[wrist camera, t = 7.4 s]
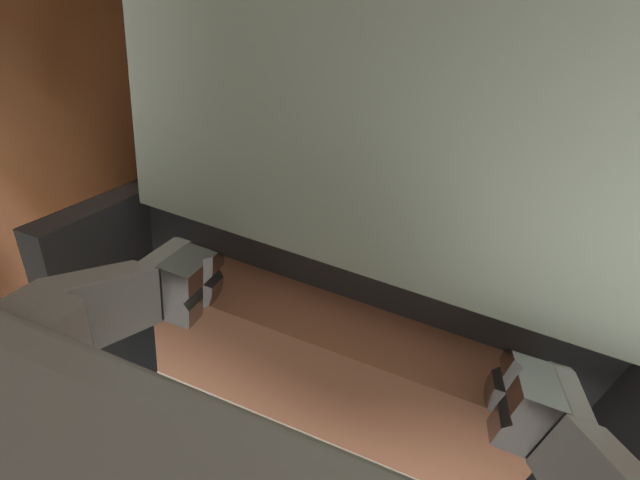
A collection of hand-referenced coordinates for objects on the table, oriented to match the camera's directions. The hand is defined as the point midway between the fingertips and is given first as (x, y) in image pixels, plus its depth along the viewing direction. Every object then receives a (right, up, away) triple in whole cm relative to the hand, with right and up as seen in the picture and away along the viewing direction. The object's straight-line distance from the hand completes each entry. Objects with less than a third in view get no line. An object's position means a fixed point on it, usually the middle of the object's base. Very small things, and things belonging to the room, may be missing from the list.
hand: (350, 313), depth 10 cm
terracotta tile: (0, -2, +3) cm, 3 cm away
